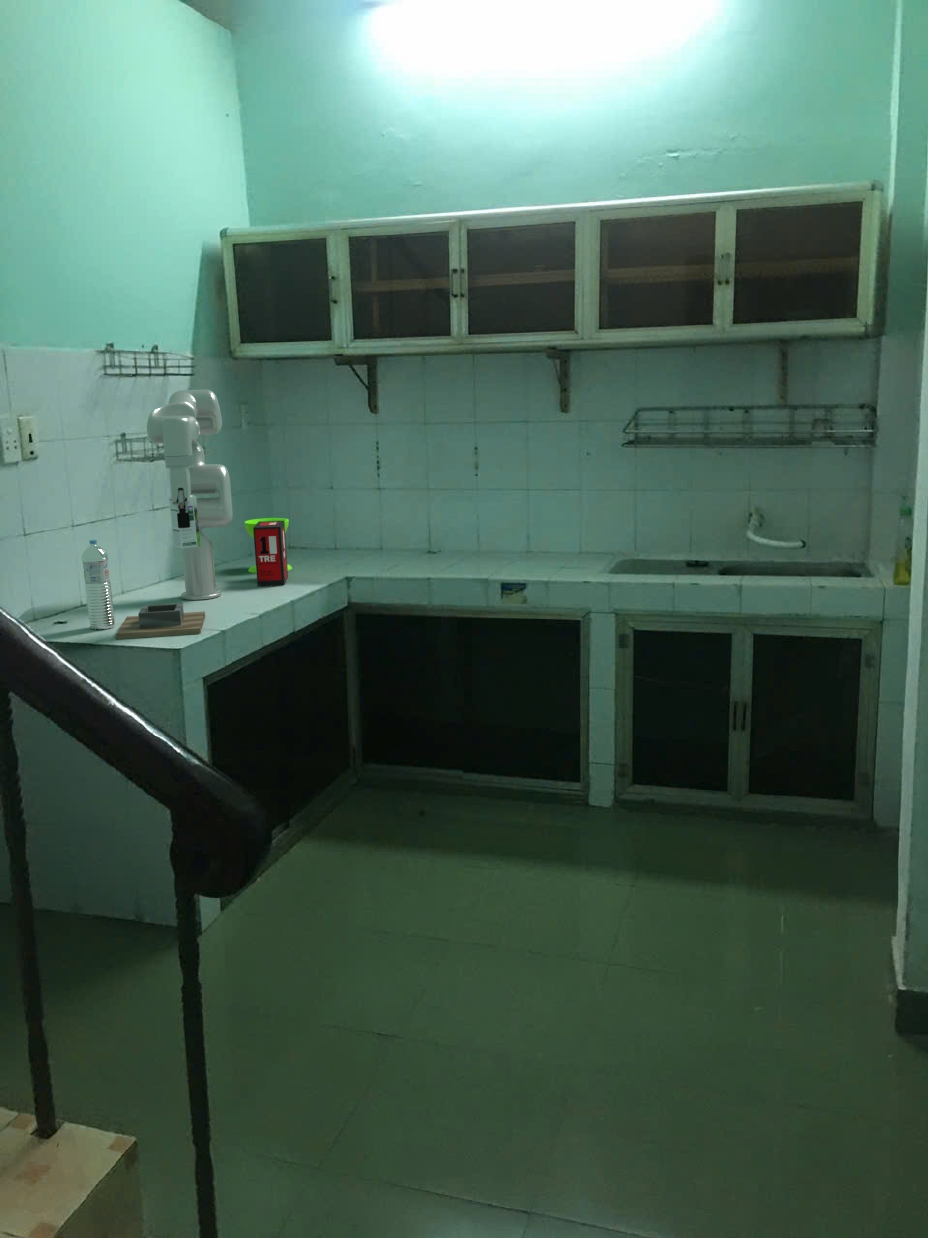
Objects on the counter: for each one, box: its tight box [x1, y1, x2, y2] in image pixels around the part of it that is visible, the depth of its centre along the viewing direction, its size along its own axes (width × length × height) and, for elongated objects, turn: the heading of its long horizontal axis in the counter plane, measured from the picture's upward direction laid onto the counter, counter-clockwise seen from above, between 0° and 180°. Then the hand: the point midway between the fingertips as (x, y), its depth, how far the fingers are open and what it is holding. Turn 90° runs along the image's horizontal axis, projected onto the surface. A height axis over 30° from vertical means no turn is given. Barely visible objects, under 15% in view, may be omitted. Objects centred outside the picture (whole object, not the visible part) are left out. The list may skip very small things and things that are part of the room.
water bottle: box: [81, 539, 116, 631], centre depth 282 cm, size 7×7×25 cm
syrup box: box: [168, 495, 201, 550], centre depth 282 cm, size 6×6×14 cm
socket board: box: [115, 602, 206, 640], centre depth 283 cm, size 22×22×6 cm
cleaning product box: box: [253, 521, 289, 588], centre depth 345 cm, size 16×9×20 cm, turn 5°
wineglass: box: [244, 517, 293, 574], centre depth 369 cm, size 16×16×18 cm
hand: (184, 525), depth 282 cm, fingers closed on syrup box, 7 cm apart
